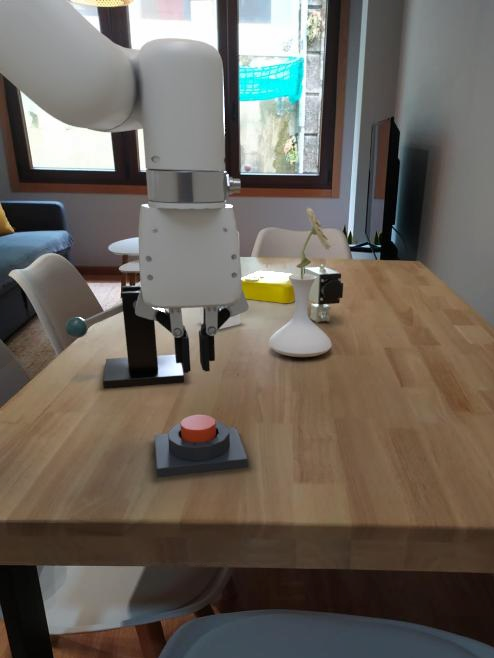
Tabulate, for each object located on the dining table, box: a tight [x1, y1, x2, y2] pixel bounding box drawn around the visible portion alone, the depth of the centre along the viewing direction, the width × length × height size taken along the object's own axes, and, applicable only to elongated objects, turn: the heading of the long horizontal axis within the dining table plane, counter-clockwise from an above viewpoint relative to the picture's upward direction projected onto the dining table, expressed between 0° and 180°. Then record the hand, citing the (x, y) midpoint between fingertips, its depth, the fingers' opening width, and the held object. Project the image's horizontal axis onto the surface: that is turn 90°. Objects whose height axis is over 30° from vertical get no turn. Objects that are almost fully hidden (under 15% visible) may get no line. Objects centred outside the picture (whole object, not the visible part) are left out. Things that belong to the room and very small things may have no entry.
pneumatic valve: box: [303, 264, 344, 324], centre depth 116 cm, size 6×12×12 cm, turn 21°
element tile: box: [242, 270, 295, 304], centre depth 139 cm, size 15×15×5 cm
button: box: [180, 414, 217, 443], centre depth 63 cm, size 4×4×2 cm
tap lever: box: [64, 290, 140, 339], centre depth 82 cm, size 13×3×3 cm, turn 105°
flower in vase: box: [268, 206, 333, 358], centre depth 95 cm, size 13×11×25 cm
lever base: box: [102, 284, 185, 389], centre depth 85 cm, size 12×10×14 cm
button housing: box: [154, 420, 249, 479], centre depth 63 cm, size 10×8×3 cm
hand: (195, 366), depth 60 cm, fingers closed
